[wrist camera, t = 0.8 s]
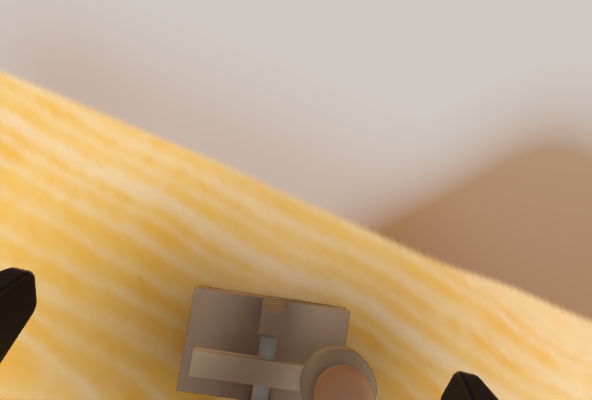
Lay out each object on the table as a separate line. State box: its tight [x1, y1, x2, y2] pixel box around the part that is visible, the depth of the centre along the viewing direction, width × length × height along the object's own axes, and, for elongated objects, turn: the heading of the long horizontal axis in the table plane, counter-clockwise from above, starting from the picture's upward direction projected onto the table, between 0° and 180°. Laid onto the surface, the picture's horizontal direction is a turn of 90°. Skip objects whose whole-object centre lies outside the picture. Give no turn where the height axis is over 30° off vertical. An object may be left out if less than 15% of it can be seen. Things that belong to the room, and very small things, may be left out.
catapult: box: [176, 286, 377, 400], centre depth 19 cm, size 8×5×8 cm, turn 81°
